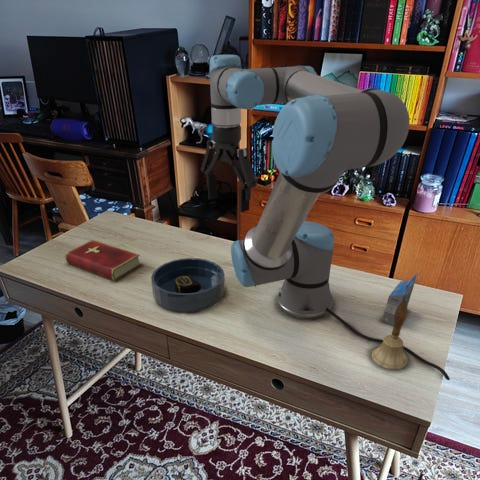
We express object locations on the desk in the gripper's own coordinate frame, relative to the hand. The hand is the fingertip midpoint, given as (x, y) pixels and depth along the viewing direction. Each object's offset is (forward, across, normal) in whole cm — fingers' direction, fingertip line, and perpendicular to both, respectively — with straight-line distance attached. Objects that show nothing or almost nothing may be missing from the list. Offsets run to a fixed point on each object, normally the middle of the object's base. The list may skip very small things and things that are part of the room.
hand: (228, 204), depth 126 cm
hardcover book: (+22, +31, +26) cm, 47 cm away
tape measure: (+21, -1, +17) cm, 27 cm away
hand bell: (+22, -57, 0) cm, 61 cm away
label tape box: (+22, -49, -16) cm, 56 cm away
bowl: (+22, -1, +17) cm, 28 cm away
